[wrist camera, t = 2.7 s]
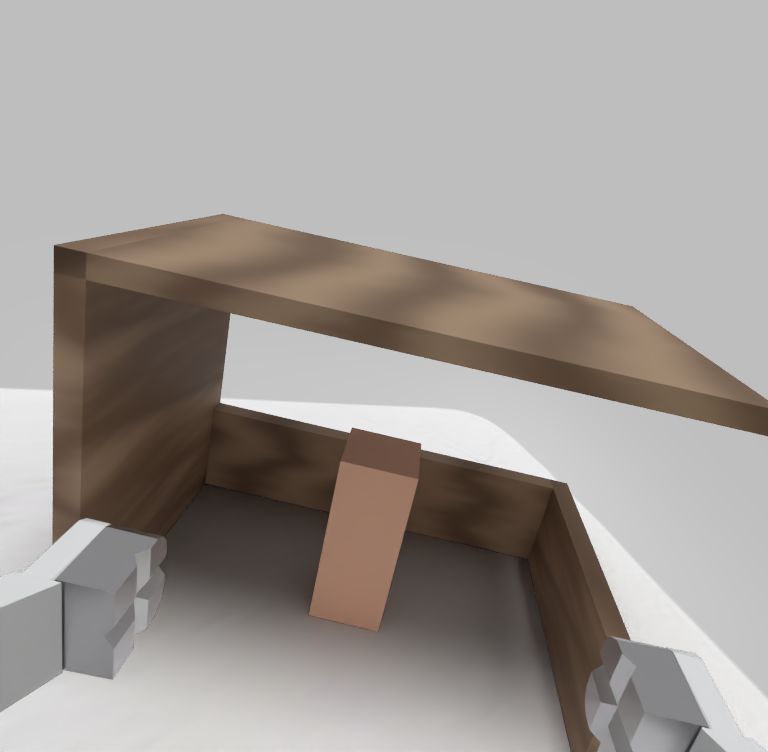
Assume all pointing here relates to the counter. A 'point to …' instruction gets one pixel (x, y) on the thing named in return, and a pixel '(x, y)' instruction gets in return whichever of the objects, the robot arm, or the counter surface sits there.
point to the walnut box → (326, 446)
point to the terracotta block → (365, 528)
